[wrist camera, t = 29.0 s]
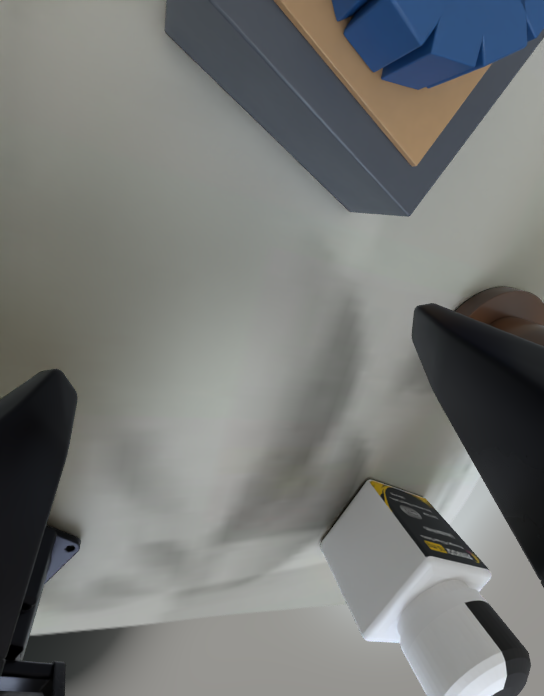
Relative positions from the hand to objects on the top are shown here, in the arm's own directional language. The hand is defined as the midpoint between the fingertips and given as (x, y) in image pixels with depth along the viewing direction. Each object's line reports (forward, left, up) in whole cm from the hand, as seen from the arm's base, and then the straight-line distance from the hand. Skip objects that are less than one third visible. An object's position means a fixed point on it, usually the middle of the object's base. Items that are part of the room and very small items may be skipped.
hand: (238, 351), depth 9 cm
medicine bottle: (-5, -24, -10) cm, 26 cm away
